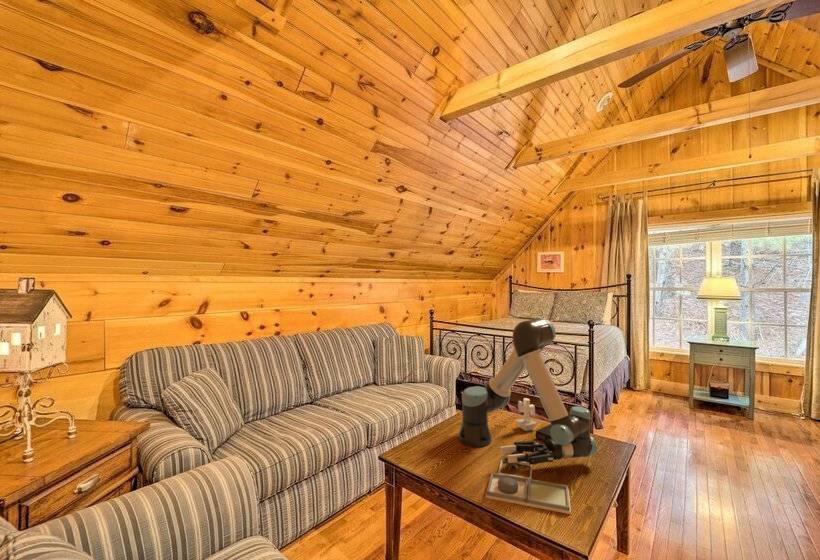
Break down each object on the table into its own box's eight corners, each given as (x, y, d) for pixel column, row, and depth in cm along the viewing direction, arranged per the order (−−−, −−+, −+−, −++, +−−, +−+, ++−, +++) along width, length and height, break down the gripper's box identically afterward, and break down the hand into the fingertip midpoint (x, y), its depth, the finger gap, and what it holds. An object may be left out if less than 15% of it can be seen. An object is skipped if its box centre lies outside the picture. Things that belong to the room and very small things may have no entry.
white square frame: (497, 475, 147) (497, 473, 147) (501, 460, 158) (501, 458, 158) (531, 481, 143) (531, 479, 143) (532, 465, 154) (532, 463, 154)
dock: (485, 497, 133) (485, 489, 133) (490, 477, 145) (490, 470, 145) (570, 514, 124) (570, 505, 124) (568, 491, 136) (568, 483, 136)
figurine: (539, 429, 188) (539, 399, 187) (524, 433, 184) (524, 402, 184) (528, 424, 194) (528, 395, 194) (514, 427, 191) (514, 398, 190)
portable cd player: (535, 439, 179) (535, 431, 178) (555, 429, 189) (555, 421, 189) (568, 452, 166) (568, 443, 165) (588, 441, 176) (588, 432, 176)
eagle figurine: (523, 471, 145) (529, 459, 153) (512, 454, 147) (518, 443, 154) (507, 478, 149) (514, 466, 157) (496, 461, 151) (503, 450, 158)
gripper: (572, 470, 144) (515, 477, 139) (545, 447, 163) (494, 452, 158) (572, 451, 143) (515, 457, 139) (545, 429, 162) (494, 434, 158)
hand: (504, 454), depth 149 cm, fingers closed on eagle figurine, 6 cm apart
